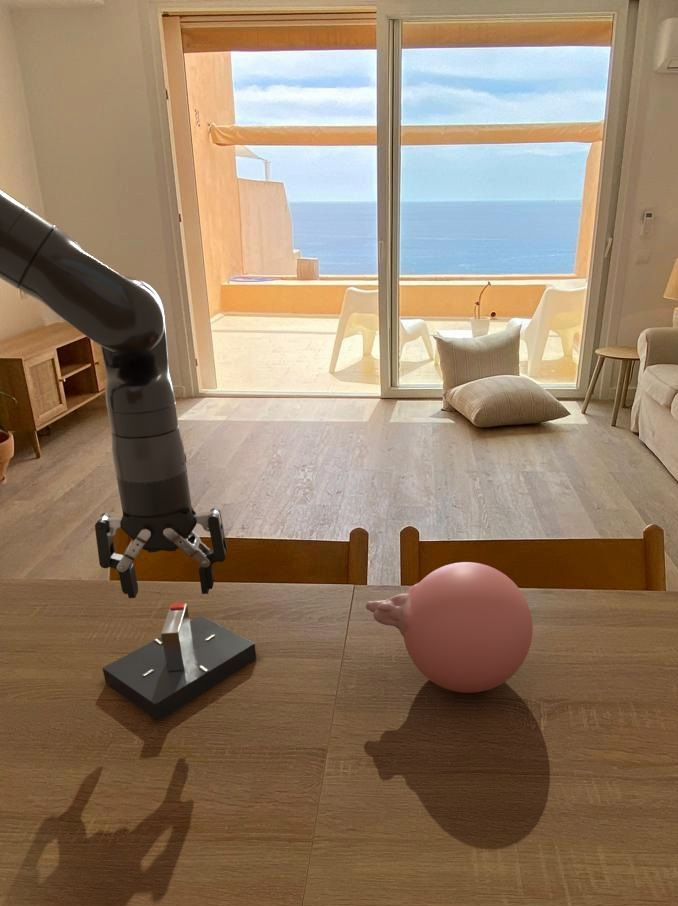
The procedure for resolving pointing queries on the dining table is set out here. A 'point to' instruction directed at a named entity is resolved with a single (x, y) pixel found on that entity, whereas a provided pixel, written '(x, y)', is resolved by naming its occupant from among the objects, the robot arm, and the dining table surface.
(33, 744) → the dining table surface
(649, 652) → the dining table surface
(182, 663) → the tap handle
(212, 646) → the base
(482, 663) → the balloon
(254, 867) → the dining table surface
